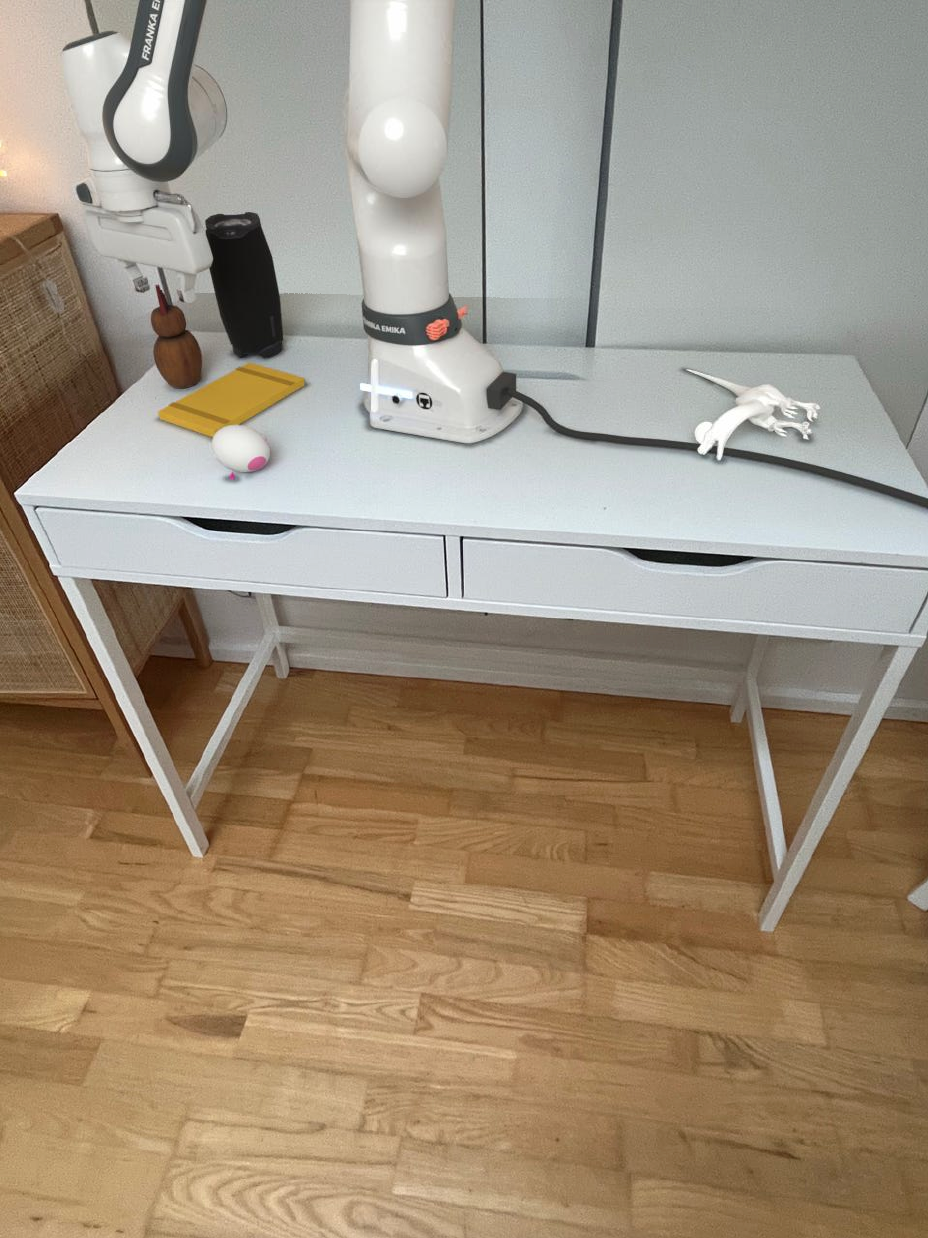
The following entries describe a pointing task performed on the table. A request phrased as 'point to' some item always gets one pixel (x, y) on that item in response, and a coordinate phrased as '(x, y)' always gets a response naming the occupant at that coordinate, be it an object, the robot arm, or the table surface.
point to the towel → (231, 399)
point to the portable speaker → (245, 284)
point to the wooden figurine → (175, 345)
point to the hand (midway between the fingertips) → (165, 296)
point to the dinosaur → (750, 414)
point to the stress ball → (240, 448)
